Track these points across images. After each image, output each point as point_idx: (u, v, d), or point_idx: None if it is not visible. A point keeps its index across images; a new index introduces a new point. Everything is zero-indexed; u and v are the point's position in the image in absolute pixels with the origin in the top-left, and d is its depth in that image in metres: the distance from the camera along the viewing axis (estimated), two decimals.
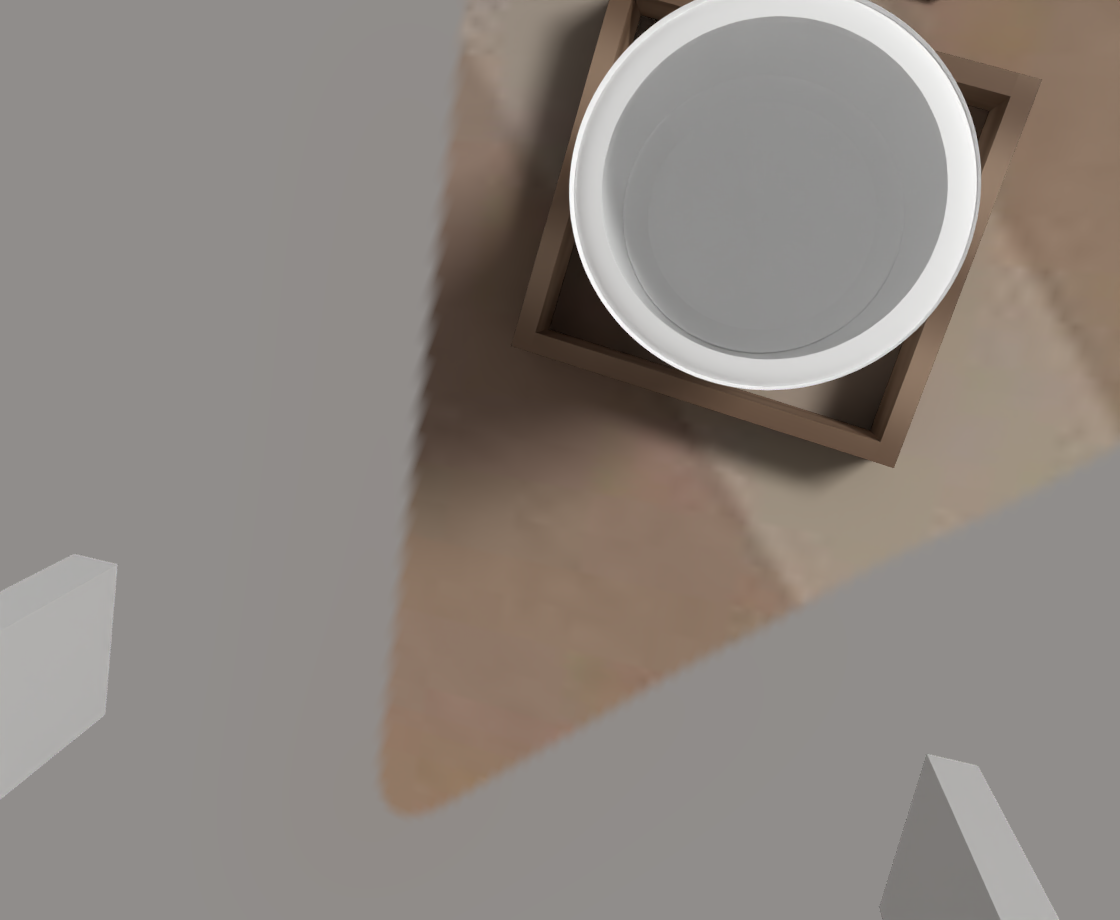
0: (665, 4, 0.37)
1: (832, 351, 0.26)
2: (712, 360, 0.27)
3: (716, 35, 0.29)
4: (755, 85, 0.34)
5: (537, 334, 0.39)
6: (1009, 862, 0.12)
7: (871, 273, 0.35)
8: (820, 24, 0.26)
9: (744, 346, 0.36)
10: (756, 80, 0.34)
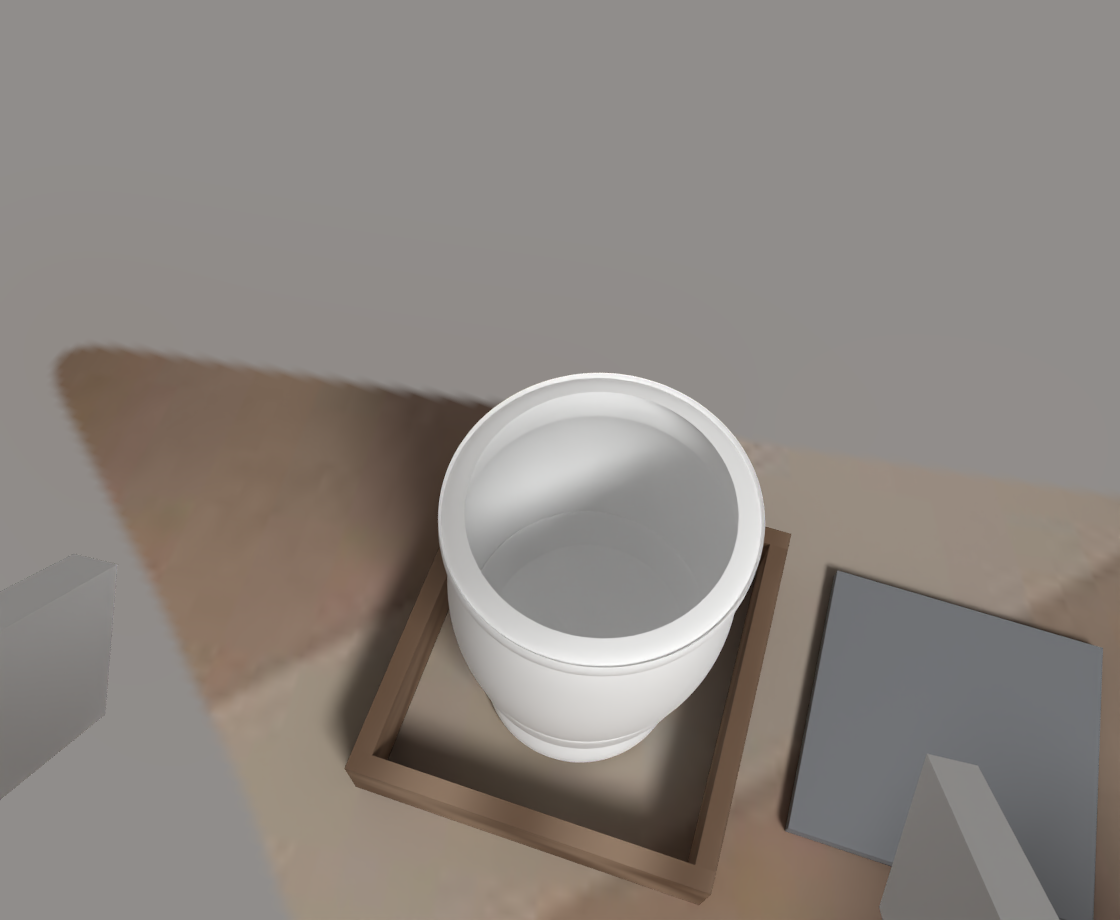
0: (763, 571, 0.44)
1: (468, 553, 0.30)
2: (466, 465, 0.32)
3: (730, 529, 0.36)
4: None
5: None
6: (1009, 862, 0.12)
7: None
8: None
9: None
10: None
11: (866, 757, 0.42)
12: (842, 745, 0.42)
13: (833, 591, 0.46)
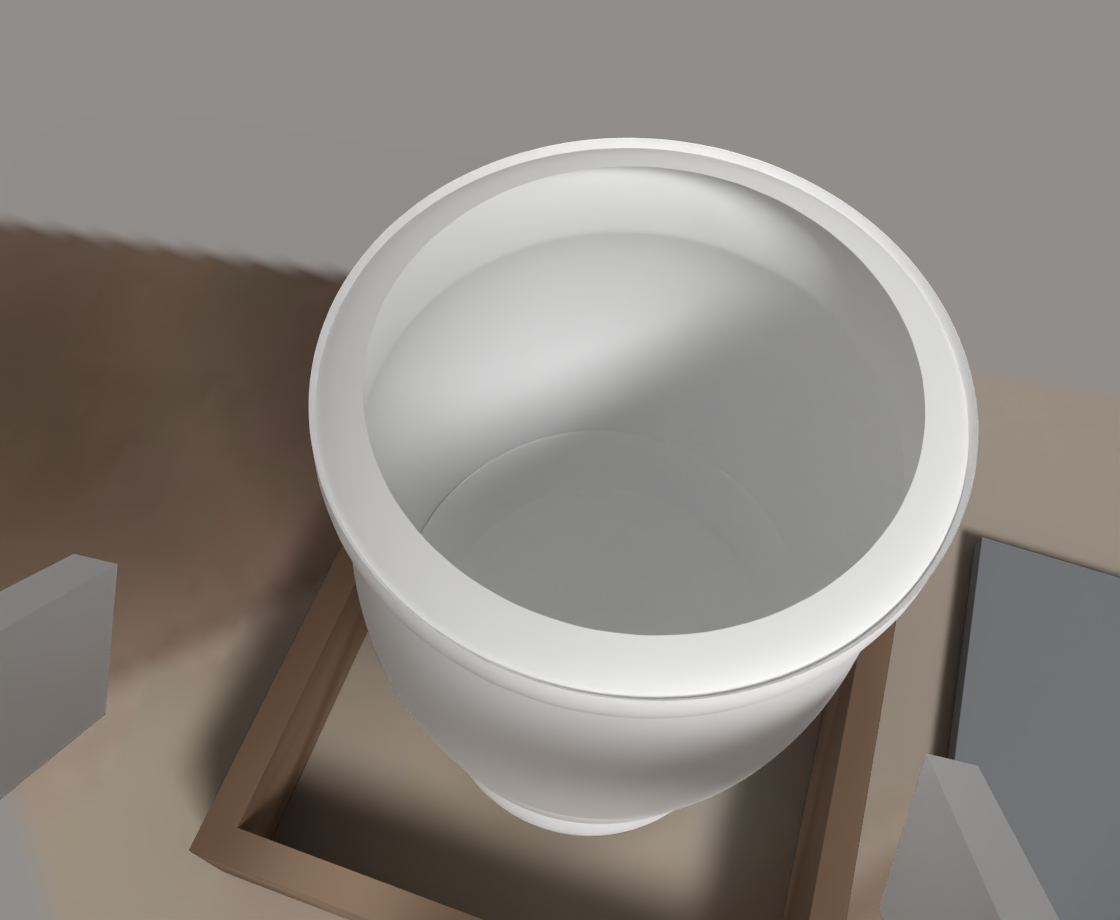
0: None
1: (366, 453, 0.14)
2: (374, 287, 0.16)
3: (865, 442, 0.20)
4: (786, 606, 0.24)
5: None
6: (1009, 862, 0.12)
7: None
8: None
9: None
10: (793, 603, 0.24)
11: (1049, 833, 0.26)
12: (1009, 813, 0.26)
13: (978, 568, 0.30)
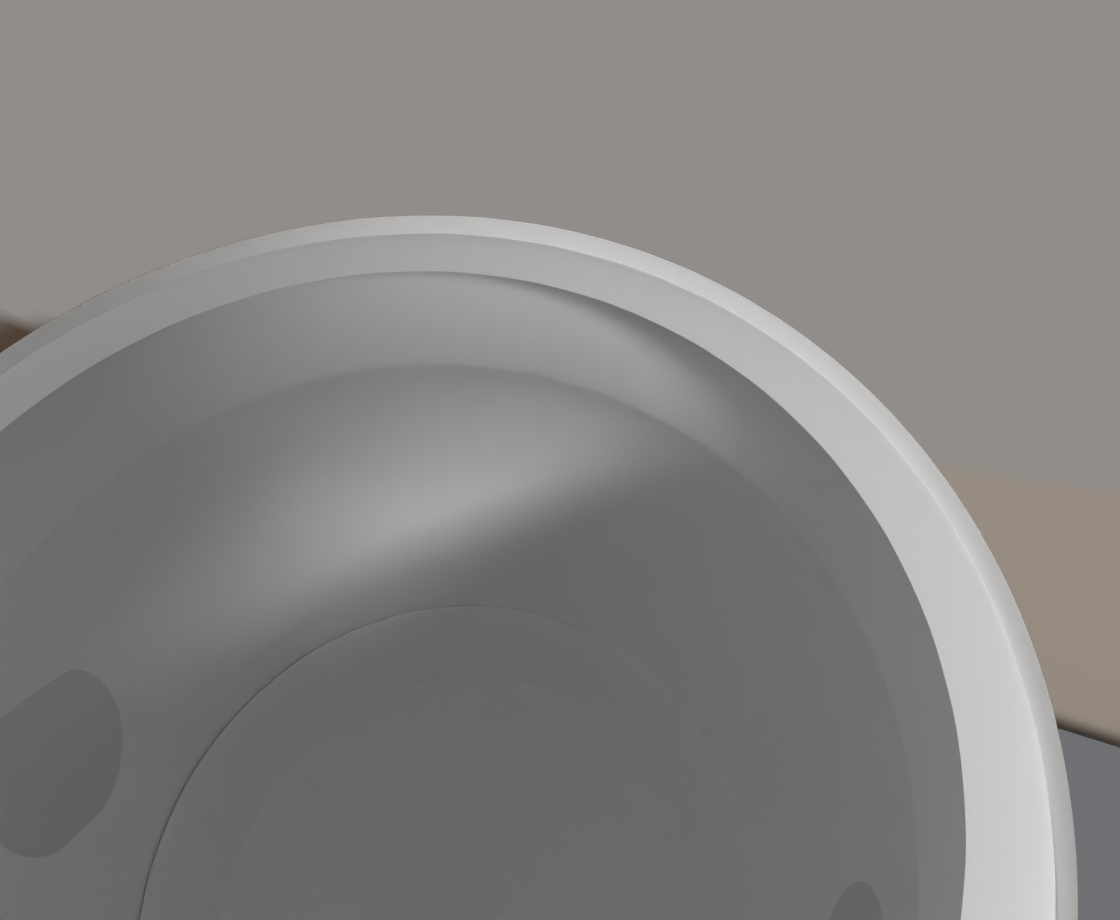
0: None
1: None
2: None
3: (846, 705, 0.12)
4: (734, 885, 0.16)
5: None
6: None
7: None
8: None
9: (171, 862, 0.16)
10: (744, 884, 0.16)
11: None
12: None
13: None
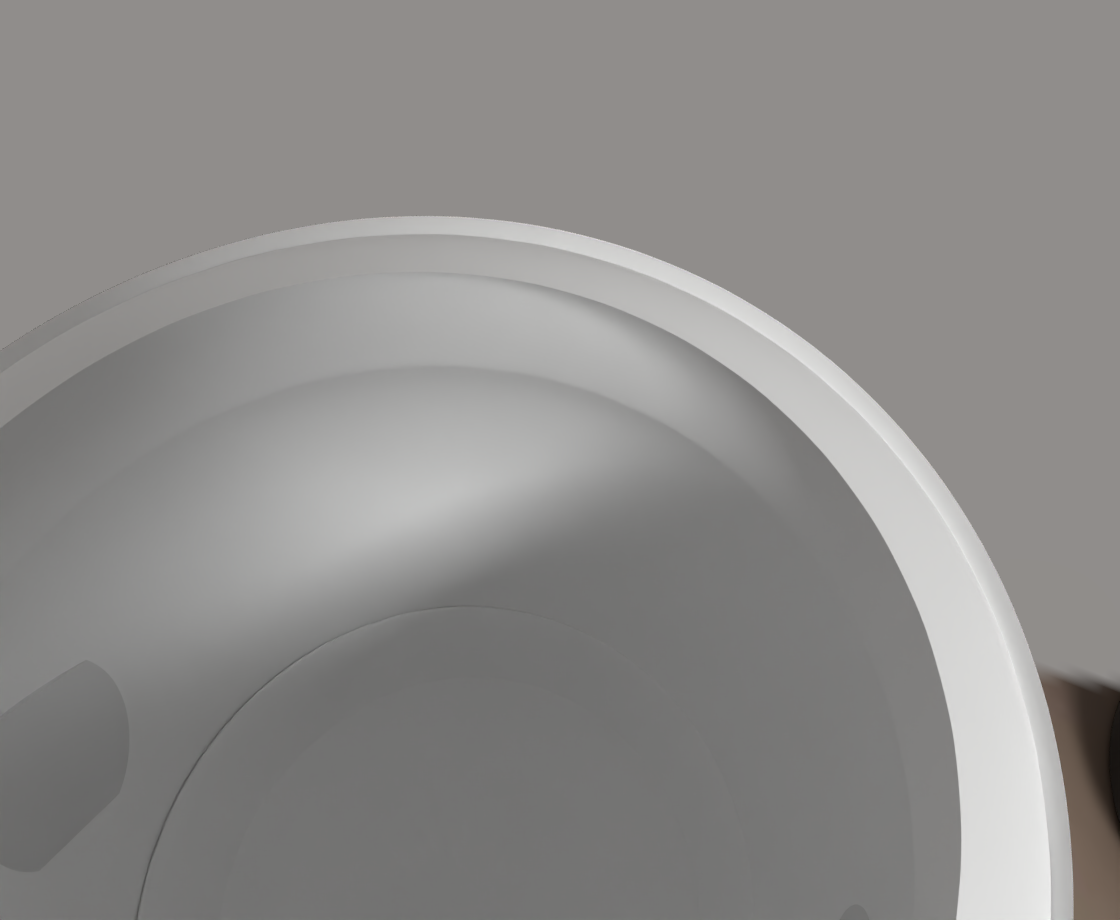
0: None
1: None
2: None
3: (843, 706, 0.12)
4: (731, 886, 0.16)
5: None
6: None
7: None
8: None
9: (169, 863, 0.16)
10: (742, 885, 0.16)
11: None
12: None
13: None
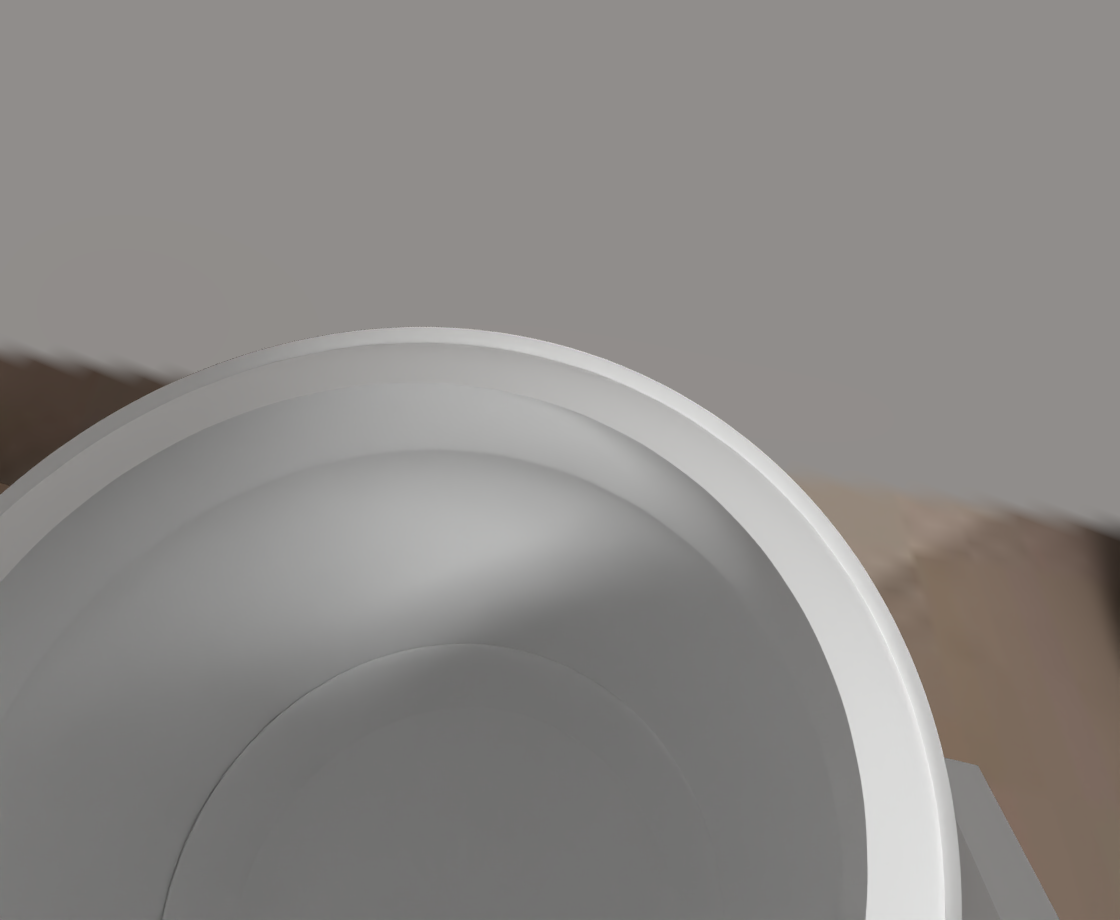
0: None
1: None
2: None
3: (796, 750, 0.13)
4: (705, 904, 0.17)
5: None
6: (1009, 862, 0.12)
7: None
8: None
9: (186, 887, 0.17)
10: (714, 903, 0.17)
11: None
12: None
13: None
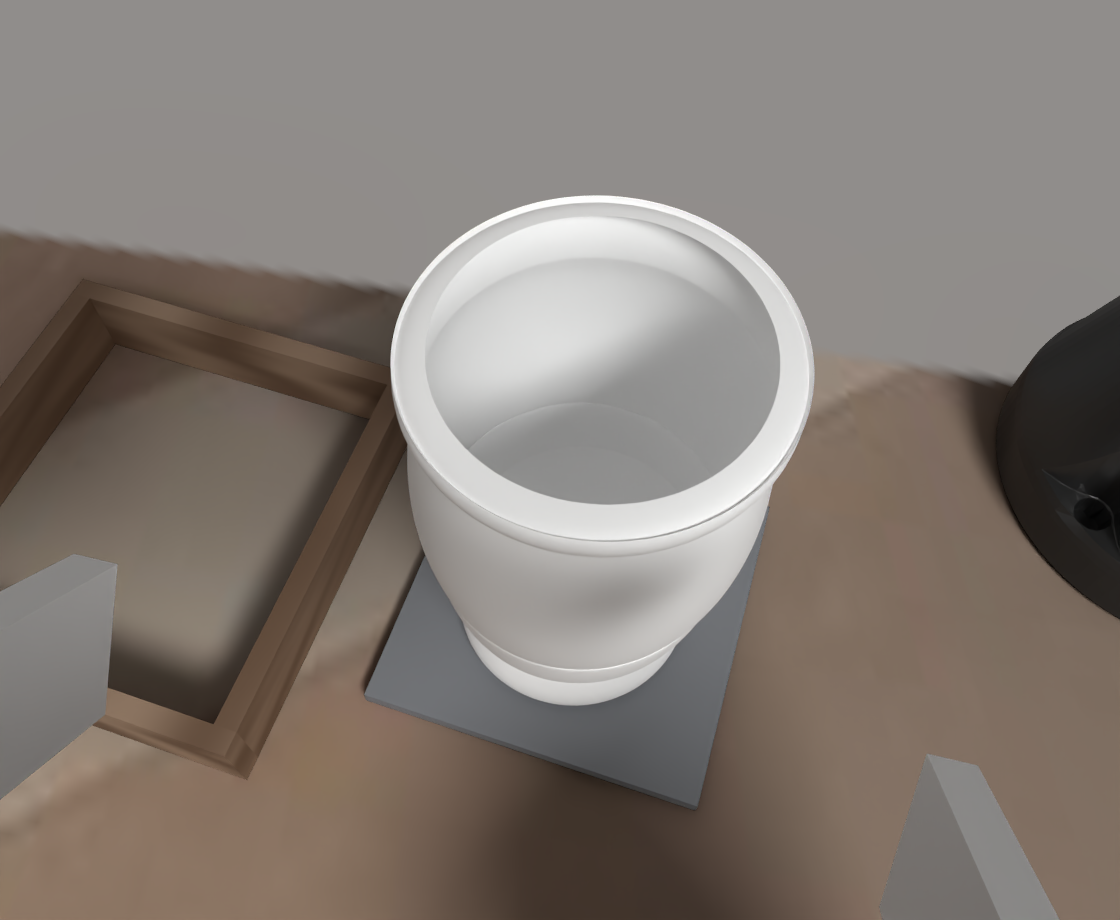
0: None
1: (429, 401, 0.23)
2: (428, 298, 0.25)
3: (761, 401, 0.29)
4: None
5: (87, 300, 0.40)
6: (1009, 862, 0.12)
7: None
8: None
9: None
10: None
11: None
12: (447, 606, 0.36)
13: None
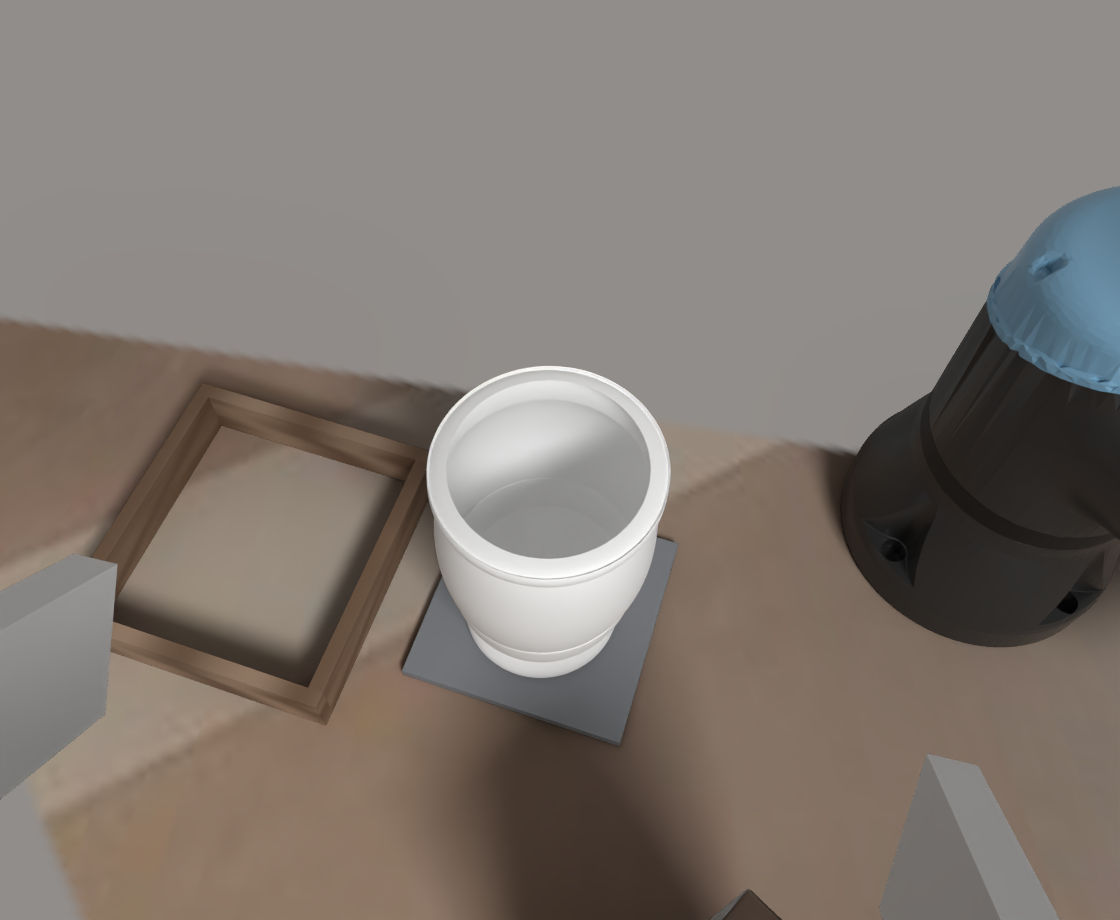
0: None
1: (449, 498, 0.41)
2: (447, 434, 0.42)
3: None
4: None
5: (206, 398, 0.58)
6: (1009, 862, 0.12)
7: None
8: None
9: None
10: None
11: None
12: (456, 612, 0.54)
13: None
